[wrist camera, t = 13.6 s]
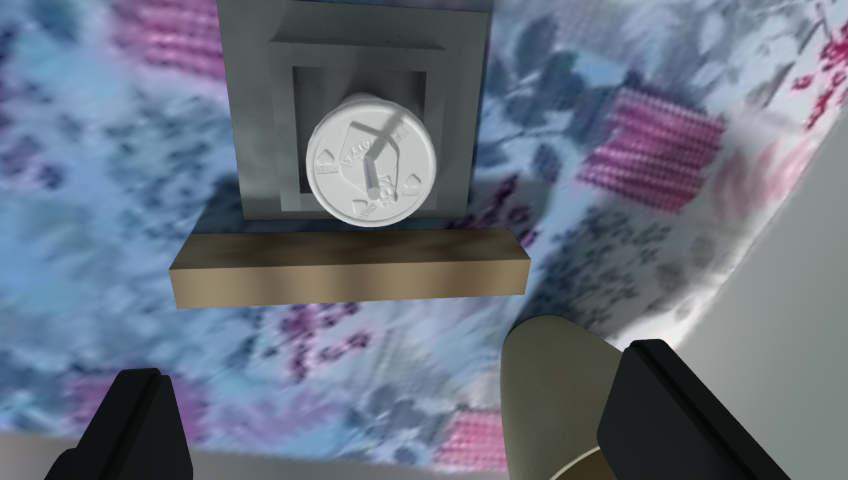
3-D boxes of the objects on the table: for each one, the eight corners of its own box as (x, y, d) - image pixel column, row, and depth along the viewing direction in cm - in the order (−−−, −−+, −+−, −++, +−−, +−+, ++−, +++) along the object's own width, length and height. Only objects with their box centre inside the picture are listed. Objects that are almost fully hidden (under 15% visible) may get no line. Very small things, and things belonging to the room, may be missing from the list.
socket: (484, 12, 30) (503, 15, 27) (462, 211, 37) (475, 235, 33) (219, -5, 28) (202, -4, 24) (246, 214, 34) (235, 239, 31)
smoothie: (387, 52, 30) (422, 98, 17) (426, 143, 33) (478, 236, 20) (295, 96, 30) (265, 170, 18) (342, 181, 33) (345, 295, 21)
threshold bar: (508, 228, 38) (531, 259, 34) (503, 260, 39) (524, 294, 35) (190, 233, 34) (168, 269, 30) (196, 269, 35) (177, 308, 31)
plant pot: (464, 414, 47) (516, 591, 33) (462, 291, 40) (528, 451, 26) (604, 391, 49) (709, 549, 35) (626, 269, 42) (768, 407, 28)
